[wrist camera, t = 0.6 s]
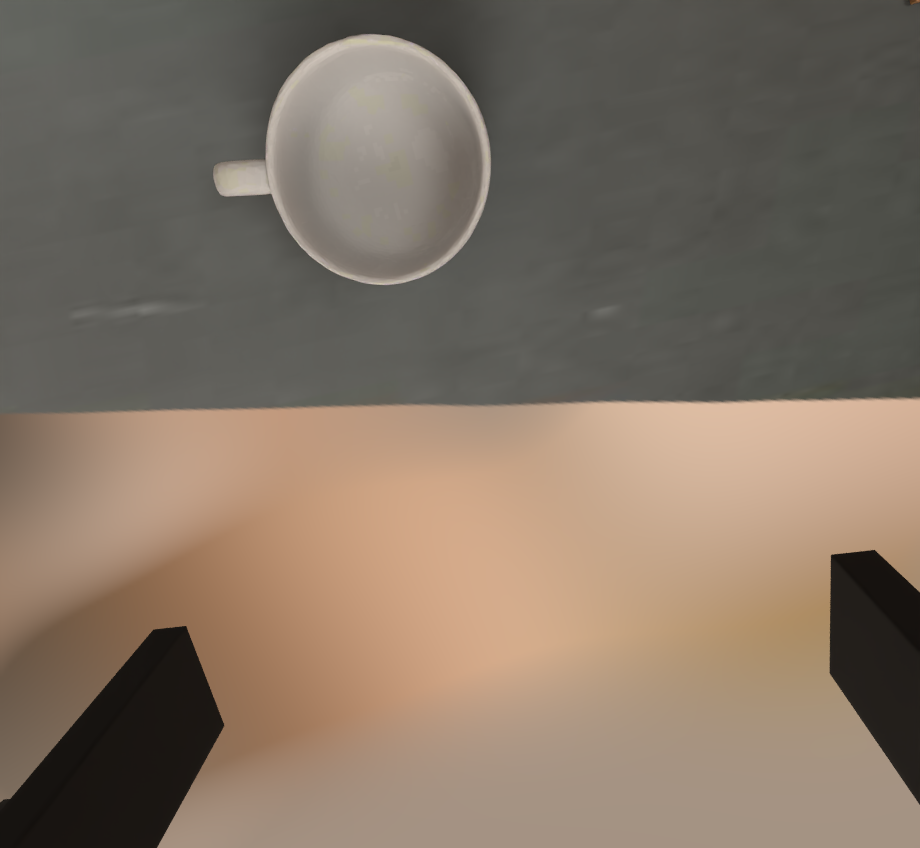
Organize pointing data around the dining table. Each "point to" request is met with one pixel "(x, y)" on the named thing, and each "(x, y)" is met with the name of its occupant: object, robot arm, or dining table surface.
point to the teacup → (372, 159)
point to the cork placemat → (914, 1)
